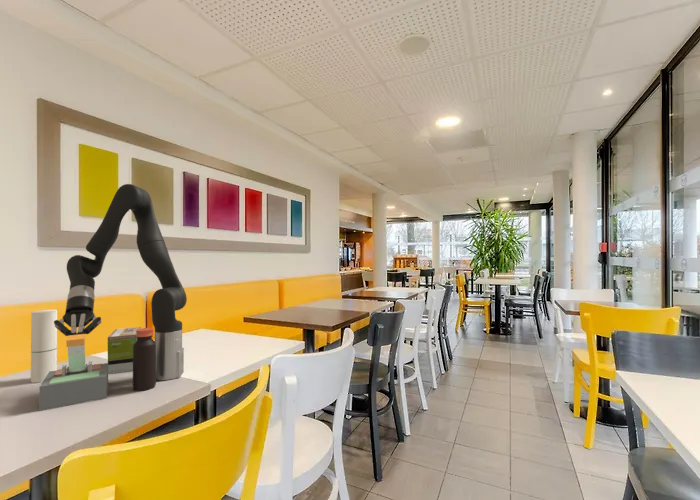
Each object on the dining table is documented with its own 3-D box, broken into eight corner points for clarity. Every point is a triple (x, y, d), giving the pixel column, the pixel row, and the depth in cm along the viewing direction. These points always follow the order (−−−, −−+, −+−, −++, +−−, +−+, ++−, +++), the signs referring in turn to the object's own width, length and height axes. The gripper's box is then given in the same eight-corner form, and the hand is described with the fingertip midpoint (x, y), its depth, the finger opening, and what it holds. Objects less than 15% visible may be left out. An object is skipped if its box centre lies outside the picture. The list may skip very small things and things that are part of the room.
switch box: (108, 382, 122) (108, 354, 122) (106, 398, 109) (106, 366, 109) (49, 392, 113) (49, 362, 113) (39, 410, 100) (39, 376, 100)
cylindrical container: (54, 374, 131) (55, 309, 131) (58, 378, 126) (59, 310, 126) (28, 379, 125) (29, 311, 125) (32, 384, 121) (33, 313, 121)
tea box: (114, 363, 144) (115, 328, 144) (142, 360, 148) (142, 326, 148) (106, 374, 130) (107, 336, 130) (137, 371, 134) (137, 333, 134)
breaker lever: (87, 368, 114) (86, 333, 109) (86, 373, 112) (85, 338, 107) (68, 370, 111) (66, 335, 107) (67, 376, 109) (65, 340, 105)
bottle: (157, 387, 117) (158, 329, 117) (135, 393, 112) (135, 332, 113) (152, 382, 122) (153, 326, 122) (130, 387, 117) (131, 329, 118)
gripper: (54, 296, 113) (46, 341, 103) (103, 293, 121) (100, 335, 110) (57, 309, 118) (49, 354, 107) (104, 306, 125) (101, 348, 115)
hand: (75, 344), depth 109 cm, fingers closed
